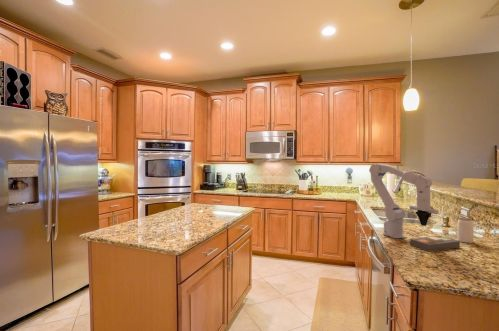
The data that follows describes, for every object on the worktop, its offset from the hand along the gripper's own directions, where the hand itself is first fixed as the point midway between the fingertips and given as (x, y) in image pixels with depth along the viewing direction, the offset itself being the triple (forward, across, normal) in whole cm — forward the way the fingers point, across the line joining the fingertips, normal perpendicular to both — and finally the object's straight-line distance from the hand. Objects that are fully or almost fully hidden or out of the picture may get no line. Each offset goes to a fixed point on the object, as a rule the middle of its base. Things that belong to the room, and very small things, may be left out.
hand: (423, 225), depth 129 cm
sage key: (+8, -5, -8) cm, 12 cm away
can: (+10, -4, -24) cm, 26 cm away
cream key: (+7, -5, -1) cm, 9 cm away
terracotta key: (+8, -5, +5) cm, 11 cm away
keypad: (+9, -5, -1) cm, 11 cm away
